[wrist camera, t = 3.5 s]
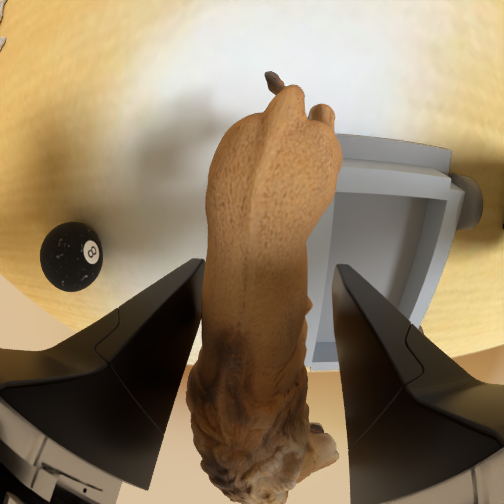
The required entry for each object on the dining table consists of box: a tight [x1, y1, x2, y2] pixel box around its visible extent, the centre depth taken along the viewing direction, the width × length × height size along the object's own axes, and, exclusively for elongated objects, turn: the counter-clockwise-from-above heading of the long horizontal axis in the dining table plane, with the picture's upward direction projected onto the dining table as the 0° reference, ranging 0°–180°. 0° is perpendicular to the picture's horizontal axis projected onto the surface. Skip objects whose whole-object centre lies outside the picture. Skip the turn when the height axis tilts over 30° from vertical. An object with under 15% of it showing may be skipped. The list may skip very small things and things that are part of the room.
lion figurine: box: [186, 71, 343, 504], centre depth 8 cm, size 15×5×9 cm, turn 5°
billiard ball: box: [40, 222, 103, 292], centre depth 20 cm, size 6×6×6 cm
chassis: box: [304, 134, 483, 371], centre depth 20 cm, size 14×22×4 cm, turn 3°
